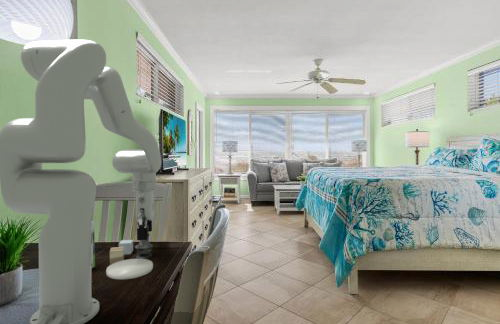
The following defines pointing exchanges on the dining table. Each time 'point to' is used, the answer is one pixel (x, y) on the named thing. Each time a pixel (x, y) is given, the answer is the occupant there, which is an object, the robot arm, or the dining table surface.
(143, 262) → the cream plate
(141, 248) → the dark grey tall piece
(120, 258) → the birch block
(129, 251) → the blue-grey block
